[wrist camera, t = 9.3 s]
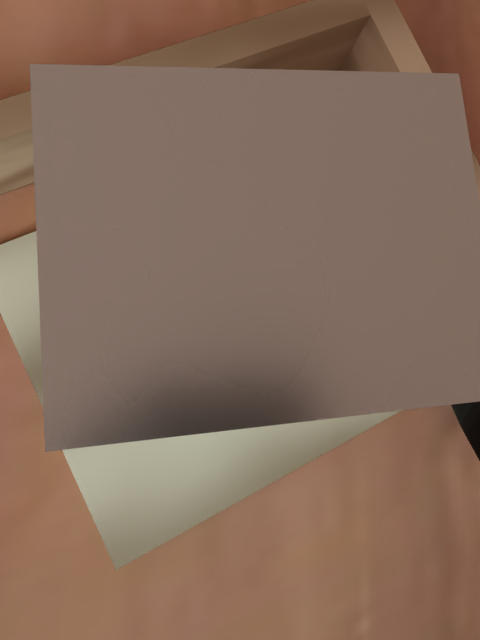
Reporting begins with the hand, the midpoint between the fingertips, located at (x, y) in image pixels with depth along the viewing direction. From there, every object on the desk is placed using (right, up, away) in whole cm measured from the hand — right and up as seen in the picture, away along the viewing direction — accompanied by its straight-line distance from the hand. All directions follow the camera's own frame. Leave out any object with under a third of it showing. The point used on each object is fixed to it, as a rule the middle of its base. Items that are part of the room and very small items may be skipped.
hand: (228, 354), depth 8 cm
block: (-1, +2, +8) cm, 8 cm away
